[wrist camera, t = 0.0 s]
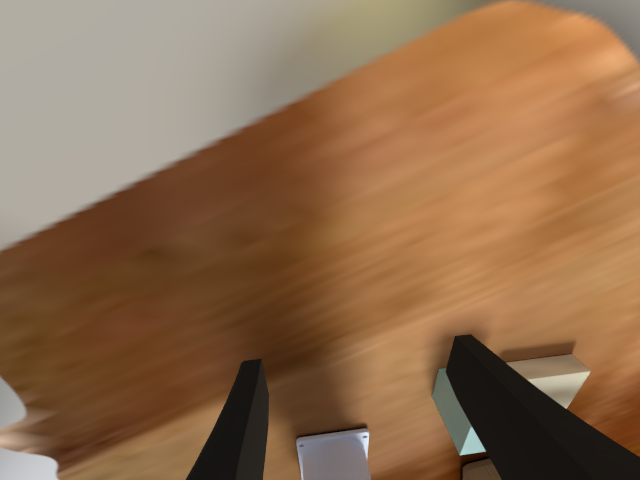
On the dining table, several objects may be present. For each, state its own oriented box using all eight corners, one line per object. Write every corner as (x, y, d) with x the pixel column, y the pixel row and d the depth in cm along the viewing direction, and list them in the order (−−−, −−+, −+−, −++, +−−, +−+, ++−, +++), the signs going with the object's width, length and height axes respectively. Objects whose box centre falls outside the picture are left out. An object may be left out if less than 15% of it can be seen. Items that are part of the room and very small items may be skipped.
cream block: (545, 400, 33) (560, 418, 31) (480, 410, 32) (491, 428, 30) (572, 354, 29) (590, 371, 27) (498, 363, 28) (512, 381, 27)
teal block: (472, 390, 30) (507, 448, 26) (431, 396, 30) (459, 455, 25) (482, 363, 28) (522, 420, 23) (438, 368, 28) (470, 427, 23)
